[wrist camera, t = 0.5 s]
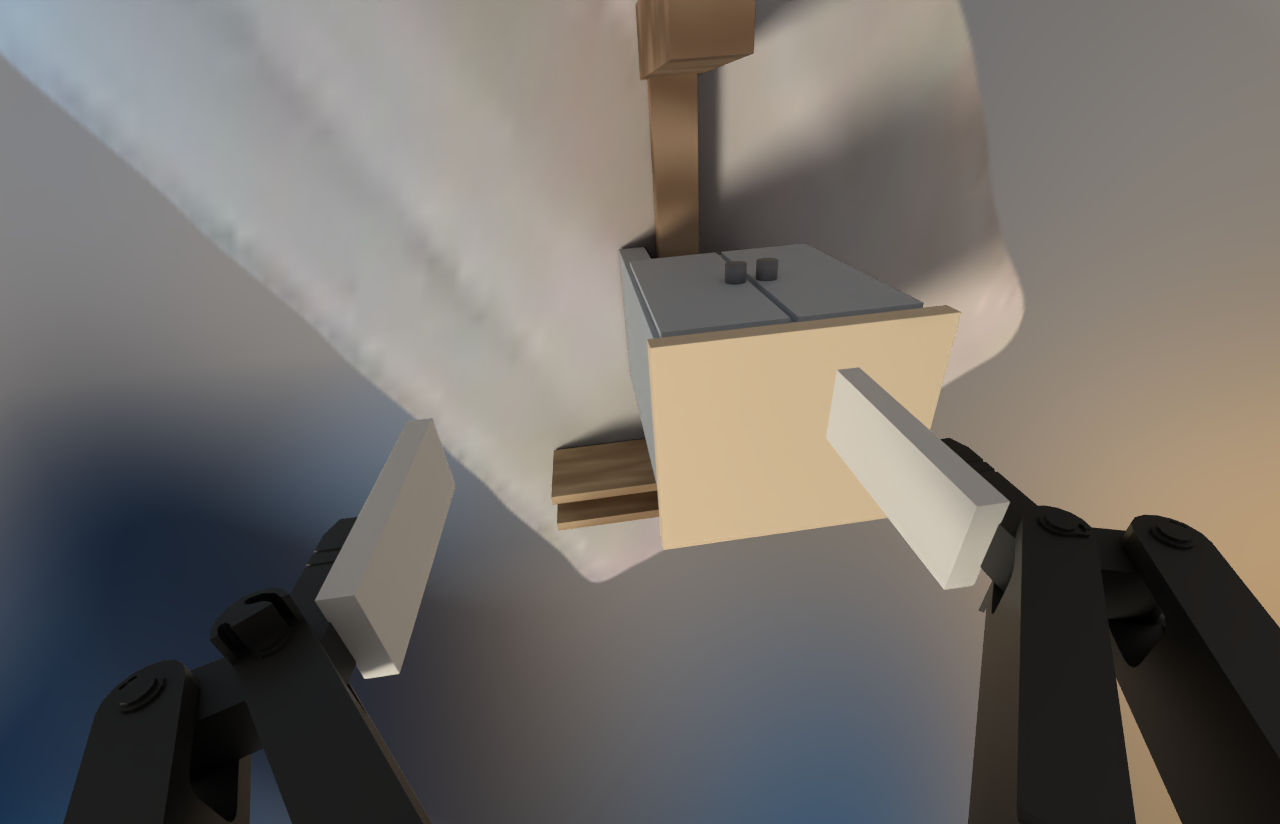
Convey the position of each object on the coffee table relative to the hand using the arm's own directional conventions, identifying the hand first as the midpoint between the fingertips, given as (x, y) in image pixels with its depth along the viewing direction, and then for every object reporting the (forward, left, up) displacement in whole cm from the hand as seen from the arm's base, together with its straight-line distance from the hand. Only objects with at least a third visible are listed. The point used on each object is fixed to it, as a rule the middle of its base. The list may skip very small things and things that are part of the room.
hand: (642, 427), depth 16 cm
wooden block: (-7, +6, -26) cm, 28 cm away
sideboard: (+5, +8, -26) cm, 28 cm away
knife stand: (+20, +3, -26) cm, 33 cm away
